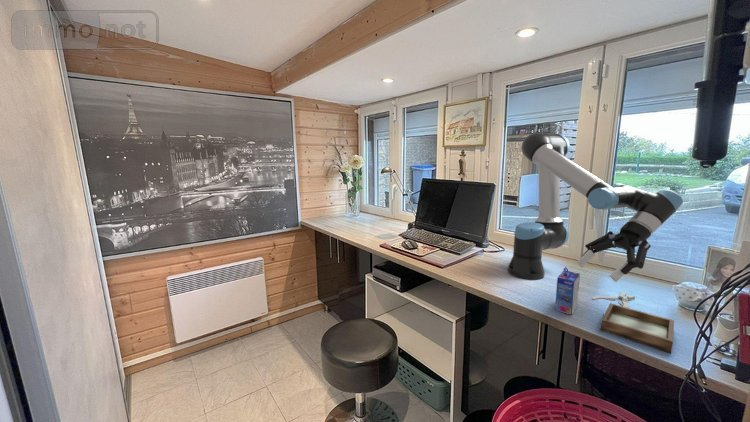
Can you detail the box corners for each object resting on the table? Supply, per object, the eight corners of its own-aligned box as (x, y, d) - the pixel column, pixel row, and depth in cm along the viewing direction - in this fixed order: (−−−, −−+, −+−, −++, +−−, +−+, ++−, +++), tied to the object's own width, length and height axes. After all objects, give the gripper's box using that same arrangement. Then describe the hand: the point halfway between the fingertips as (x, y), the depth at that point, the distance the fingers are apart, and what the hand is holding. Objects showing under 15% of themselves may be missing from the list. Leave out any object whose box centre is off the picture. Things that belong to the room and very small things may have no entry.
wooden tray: (600, 330, 90) (601, 319, 90) (608, 312, 101) (610, 303, 100) (670, 353, 79) (673, 341, 79) (672, 330, 90) (674, 320, 89)
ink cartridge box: (560, 300, 110) (564, 263, 107) (577, 305, 106) (582, 267, 103) (553, 310, 103) (557, 270, 100) (572, 315, 99) (576, 275, 96)
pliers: (591, 295, 111) (615, 289, 116) (590, 299, 111) (614, 292, 117) (621, 307, 102) (645, 299, 107) (620, 311, 102) (645, 303, 108)
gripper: (686, 244, 89) (636, 293, 90) (612, 227, 114) (573, 265, 115) (674, 228, 88) (622, 278, 89) (601, 214, 112) (562, 253, 113)
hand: (595, 271), depth 102 cm, fingers open, 13 cm apart
